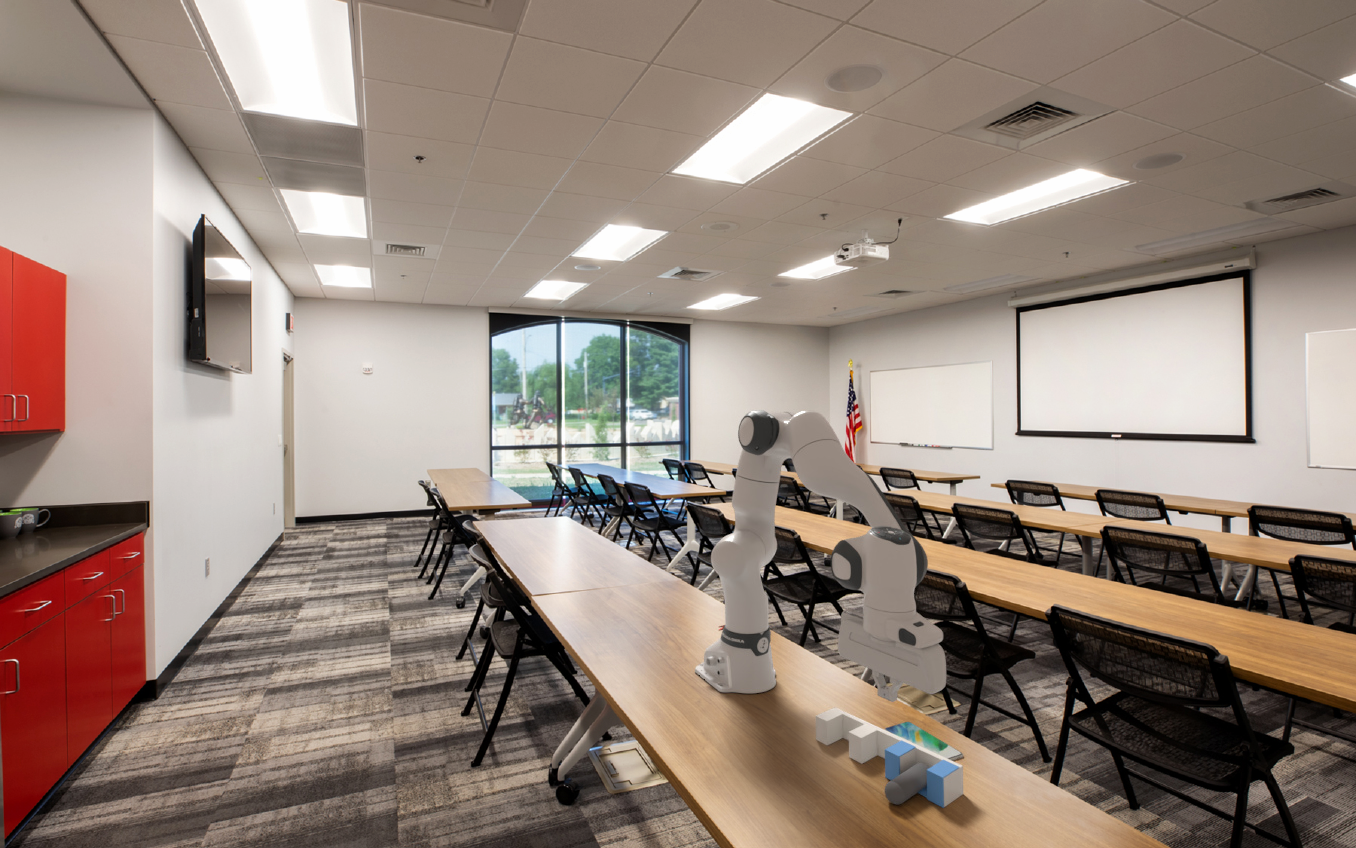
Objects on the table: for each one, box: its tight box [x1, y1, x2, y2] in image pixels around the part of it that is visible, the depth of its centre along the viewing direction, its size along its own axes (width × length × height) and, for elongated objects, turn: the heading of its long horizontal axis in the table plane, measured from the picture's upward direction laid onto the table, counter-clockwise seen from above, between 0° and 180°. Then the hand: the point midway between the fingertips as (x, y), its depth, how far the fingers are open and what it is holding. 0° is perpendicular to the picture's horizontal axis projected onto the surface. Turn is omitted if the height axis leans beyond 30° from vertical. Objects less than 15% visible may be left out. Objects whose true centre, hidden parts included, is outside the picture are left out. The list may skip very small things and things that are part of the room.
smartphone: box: [884, 721, 964, 761], centre depth 126 cm, size 7×1×15 cm
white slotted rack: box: [815, 707, 964, 809], centre depth 118 cm, size 28×6×5 cm, turn 36°
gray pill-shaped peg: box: [884, 763, 929, 806], centre depth 109 cm, size 4×12×4 cm, turn 126°
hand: (887, 698), depth 109 cm, fingers closed
